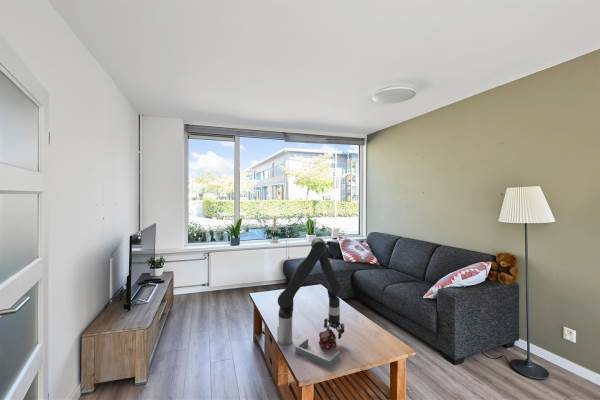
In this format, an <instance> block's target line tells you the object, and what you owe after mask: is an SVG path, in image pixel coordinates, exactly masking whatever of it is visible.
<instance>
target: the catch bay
mask: <svg viewBox="0 0 600 400" xmlns="http://www.w3.org/2000/svg"><path fill="white" fill-rule="evenodd" d="M308 346H309V338H305V339H304V340H302V341H301V342H300V343H298V344H297V345H295V347H294V350H295V351H294V353H295V354H296V355H299V356H301V357H303V358H306V359H308V360H310V361H312V362H314V363H316V364H320V366H323V367H326V368H328V369H331V368H332V367H333V366H334V364H336V362H338V361H339V360H340V359H341V351H340V350H337V352H335V353H334V354H333V355H332V356H331V357H330V358H326V357H324V356H321V355H319V354H316V353H314V352H312V351H309V350H307V349H305V348H306V347H308Z"/></svg>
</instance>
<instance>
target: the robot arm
mask: <svg viewBox="0 0 600 400" xmlns="http://www.w3.org/2000/svg"><path fill="white" fill-rule="evenodd" d="M310 245H311V249H310V250H309V253H308V254H307V256H306V257H305V258H304V260H302V261H301V262H300V263H299V264H298V265H297V266H296V269H295V270H294V272H293V274H292V275H291V277H290V279H289V281H288V283H287V285H286V287H285V289H284V290H283V291H281V292H280V294H279V296H278V297H277V306H279V309H278V325H277V328H276V329H277V335H276V338H277V342H278V344H280V345H281V346H288V345H290V344H292V343H293V317H294V315H293V314H294V298H295V296H296V294H297V293H298V291H299V290H300V289H301V287H302V286H303V285H304V284H305V282H306V281H307V280H308V278H309V276H310V274H311V273H312V271H313V270H314V267H315V266H316V264H317V263H318V262H319V265H320V268H321V271H322V274H323V277H324V279H325V282H326V283H328V284H327V287H326V288H327V289H326V290H327V296H328V317H326V318H324V320H323V322H324V323H323V327H324V328H325V329H326V331H327V330H328V331H329V330H330V328H332V329H335V330H336V331H337V334H338V336H337V339H338V340H340V339H341V338H342V335H343V334H344V333H345V323H344V322H343V323H341V322H340V320H341V306H340V302H341V301H340V297H339V295H340V294H341V293H342V285H341V283H340V281H339V280H338V278H337V276H336V273H335V271H334V268H333V266H332V263H331V261H330V259H329V257H328V253H327V244H326V242H325V240H324V239H323V238H321V237H315V238H313V239H312V241H311V244H310Z"/></svg>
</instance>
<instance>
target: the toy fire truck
mask: <svg viewBox="0 0 600 400" xmlns="http://www.w3.org/2000/svg"><path fill="white" fill-rule="evenodd" d="M329 329H330V328H329ZM318 335H319V336H318V337H319V341H318V344H319V346H320V347H321V348H322V347H323V349H324V350H325V351H328V350H329V349H330V347H331V348H332V349H335V348H336V347H337V337H336V334H335V332H334V331H333V330H332V329H330V330H329V331H328V330H327V329H326V330H324V331H321V332H319V334H318Z"/></svg>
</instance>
